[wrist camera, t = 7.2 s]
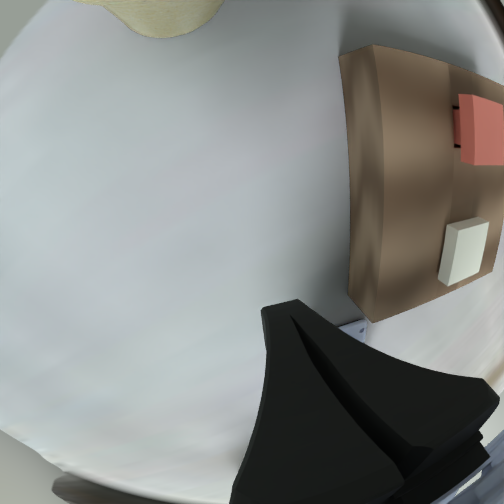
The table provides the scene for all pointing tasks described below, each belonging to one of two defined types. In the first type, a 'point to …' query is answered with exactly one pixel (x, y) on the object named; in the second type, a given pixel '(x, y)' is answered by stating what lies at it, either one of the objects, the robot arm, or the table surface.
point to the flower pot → (160, 15)
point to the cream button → (462, 250)
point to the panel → (410, 176)
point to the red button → (479, 130)
